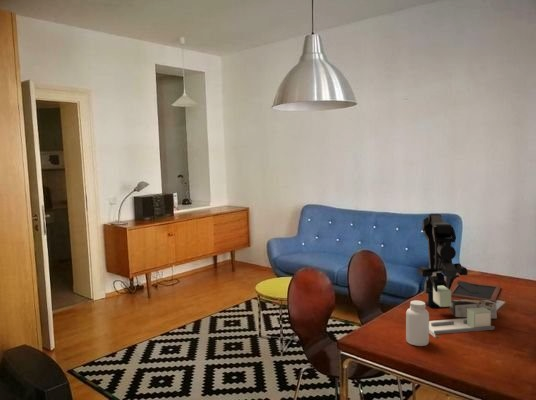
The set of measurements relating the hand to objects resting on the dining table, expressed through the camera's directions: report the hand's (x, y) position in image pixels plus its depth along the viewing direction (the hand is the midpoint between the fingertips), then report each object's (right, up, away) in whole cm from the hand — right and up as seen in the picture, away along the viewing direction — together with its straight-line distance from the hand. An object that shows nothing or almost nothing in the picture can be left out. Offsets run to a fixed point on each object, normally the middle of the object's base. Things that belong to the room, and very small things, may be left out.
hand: (442, 291), depth 174 cm
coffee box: (+21, -8, +1) cm, 23 cm away
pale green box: (0, -5, +1) cm, 5 cm away
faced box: (+10, -11, -10) cm, 18 cm away
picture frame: (+30, -9, +34) cm, 46 cm away
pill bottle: (-17, -15, -19) cm, 29 cm away
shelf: (+2, -13, -9) cm, 16 cm away
